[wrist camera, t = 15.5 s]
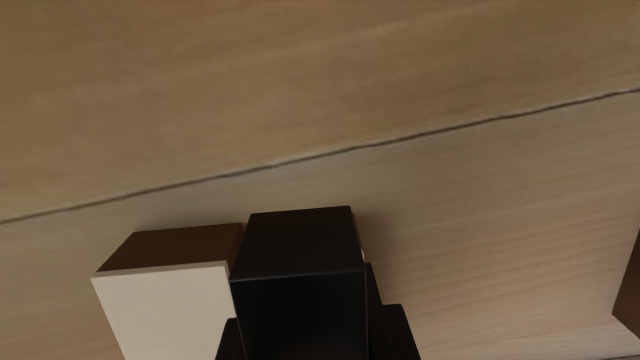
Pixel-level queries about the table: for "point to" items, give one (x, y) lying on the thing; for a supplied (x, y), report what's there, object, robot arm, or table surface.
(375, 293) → the robot arm
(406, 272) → the table surface
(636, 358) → the book
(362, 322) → the cake knife
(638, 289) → the brown twin bars
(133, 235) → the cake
